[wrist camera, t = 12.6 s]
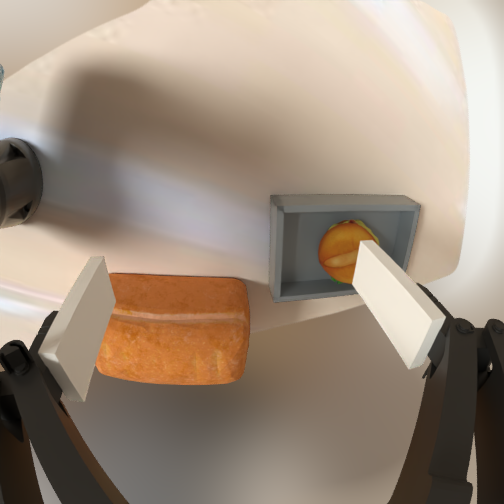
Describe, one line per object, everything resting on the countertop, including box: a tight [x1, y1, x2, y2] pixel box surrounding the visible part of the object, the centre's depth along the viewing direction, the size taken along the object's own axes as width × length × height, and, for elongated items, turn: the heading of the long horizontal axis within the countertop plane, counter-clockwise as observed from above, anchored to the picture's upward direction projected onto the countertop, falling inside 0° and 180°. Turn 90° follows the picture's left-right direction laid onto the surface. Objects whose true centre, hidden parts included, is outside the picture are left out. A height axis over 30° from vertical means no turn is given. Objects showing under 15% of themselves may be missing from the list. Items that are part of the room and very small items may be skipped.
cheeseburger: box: [318, 219, 379, 284], centre depth 45 cm, size 10×11×10 cm
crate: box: [269, 194, 421, 302], centre depth 47 cm, size 24×16×5 cm, turn 90°
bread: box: [95, 274, 250, 385], centre depth 45 cm, size 14×26×16 cm, turn 84°
